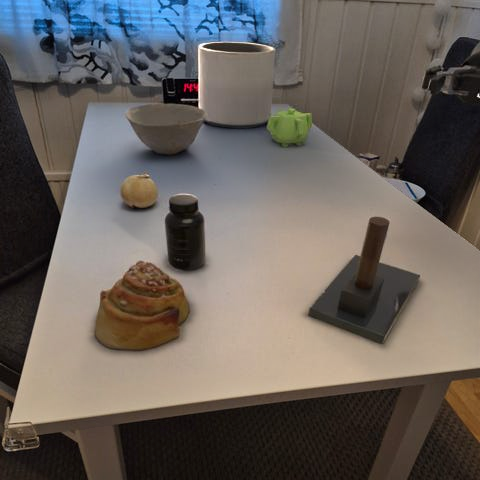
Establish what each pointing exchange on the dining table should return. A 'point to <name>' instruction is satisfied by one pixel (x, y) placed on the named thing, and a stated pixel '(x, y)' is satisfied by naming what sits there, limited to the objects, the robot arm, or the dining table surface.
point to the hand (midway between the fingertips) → (465, 91)
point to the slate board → (382, 312)
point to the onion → (139, 191)
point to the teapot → (289, 126)
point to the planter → (236, 83)
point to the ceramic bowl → (166, 126)
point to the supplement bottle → (185, 233)
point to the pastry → (141, 309)
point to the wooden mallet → (366, 272)
